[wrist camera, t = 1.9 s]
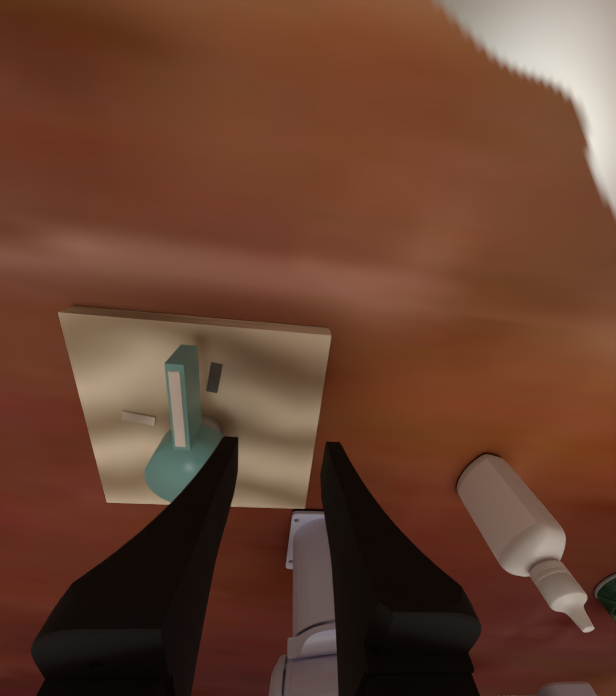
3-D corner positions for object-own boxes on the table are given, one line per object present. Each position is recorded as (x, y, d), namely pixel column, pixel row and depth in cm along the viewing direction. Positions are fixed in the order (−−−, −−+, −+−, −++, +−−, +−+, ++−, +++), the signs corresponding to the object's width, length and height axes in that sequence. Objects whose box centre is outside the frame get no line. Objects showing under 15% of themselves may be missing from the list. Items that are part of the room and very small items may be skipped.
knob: (231, 476, 22) (223, 508, 20) (164, 474, 22) (148, 505, 20) (230, 348, 18) (221, 369, 15) (146, 341, 17) (123, 361, 15)
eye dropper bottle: (442, 476, 29) (532, 634, 18) (493, 446, 28) (624, 598, 17) (463, 497, 30) (557, 656, 19) (512, 470, 29) (644, 624, 18)
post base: (304, 495, 29) (305, 529, 26) (116, 488, 28) (92, 523, 24) (329, 327, 22) (335, 347, 19) (73, 305, 20) (32, 322, 17)
